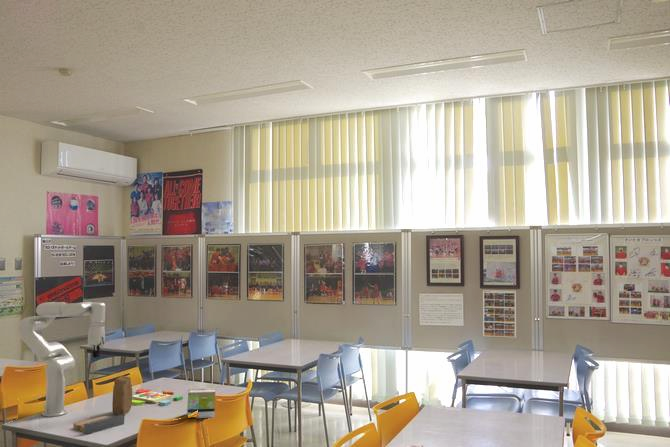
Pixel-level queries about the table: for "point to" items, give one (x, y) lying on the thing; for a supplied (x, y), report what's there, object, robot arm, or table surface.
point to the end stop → (103, 423)
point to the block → (122, 395)
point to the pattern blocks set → (153, 397)
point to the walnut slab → (81, 424)
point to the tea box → (201, 402)
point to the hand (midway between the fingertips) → (96, 357)
